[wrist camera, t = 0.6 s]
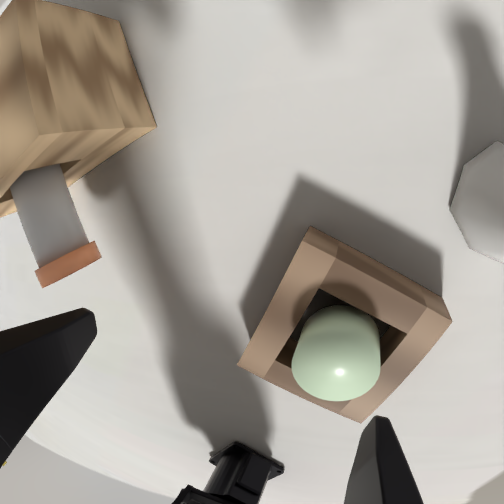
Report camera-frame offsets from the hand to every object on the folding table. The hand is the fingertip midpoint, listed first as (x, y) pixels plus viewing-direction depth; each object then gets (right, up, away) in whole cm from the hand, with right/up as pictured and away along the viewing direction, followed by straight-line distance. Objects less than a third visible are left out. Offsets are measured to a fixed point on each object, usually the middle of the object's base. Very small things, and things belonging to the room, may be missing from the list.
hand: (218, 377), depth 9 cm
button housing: (+7, -1, +12) cm, 14 cm away
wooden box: (-14, +15, +14) cm, 24 cm away
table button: (+6, -2, +11) cm, 13 cm away
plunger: (-12, +7, +12) cm, 18 cm away
